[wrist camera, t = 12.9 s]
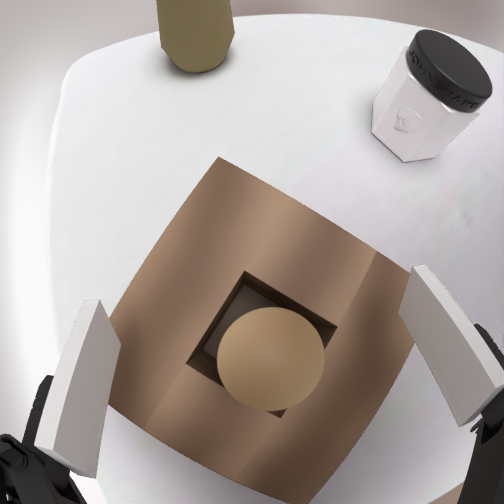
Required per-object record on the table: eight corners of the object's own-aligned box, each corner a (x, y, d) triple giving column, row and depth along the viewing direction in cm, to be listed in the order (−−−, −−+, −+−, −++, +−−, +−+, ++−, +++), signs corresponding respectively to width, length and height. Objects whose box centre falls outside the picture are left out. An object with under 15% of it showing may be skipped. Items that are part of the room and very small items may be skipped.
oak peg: (295, 329, 23) (346, 339, 11) (266, 375, 22) (289, 430, 10) (248, 301, 23) (252, 283, 11) (218, 347, 22) (193, 377, 10)
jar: (353, 120, 28) (396, 37, 16) (388, 90, 29) (429, 19, 18) (417, 179, 27) (487, 116, 15) (445, 141, 28) (502, 82, 17)
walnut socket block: (383, 301, 24) (436, 292, 16) (286, 458, 21) (303, 508, 13) (225, 203, 26) (218, 156, 18) (123, 362, 22) (76, 377, 15)
